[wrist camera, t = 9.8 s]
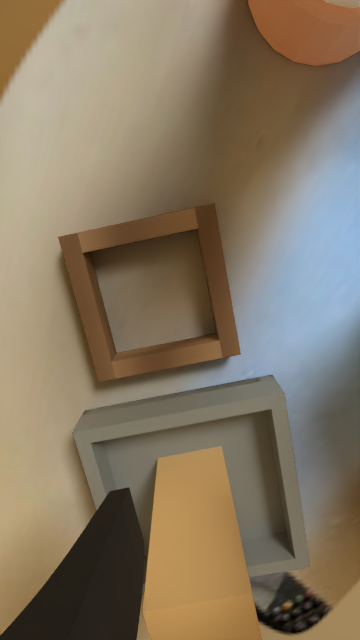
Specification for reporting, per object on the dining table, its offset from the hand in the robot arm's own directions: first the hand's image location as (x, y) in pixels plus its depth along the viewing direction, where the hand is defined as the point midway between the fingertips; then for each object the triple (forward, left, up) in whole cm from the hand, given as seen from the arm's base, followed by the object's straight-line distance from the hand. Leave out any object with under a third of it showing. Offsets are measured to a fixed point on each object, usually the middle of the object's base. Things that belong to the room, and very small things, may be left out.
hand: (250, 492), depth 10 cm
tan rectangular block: (+3, +7, -10) cm, 12 cm away
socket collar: (+3, -5, -10) cm, 12 cm away
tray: (+3, +7, -10) cm, 13 cm away
